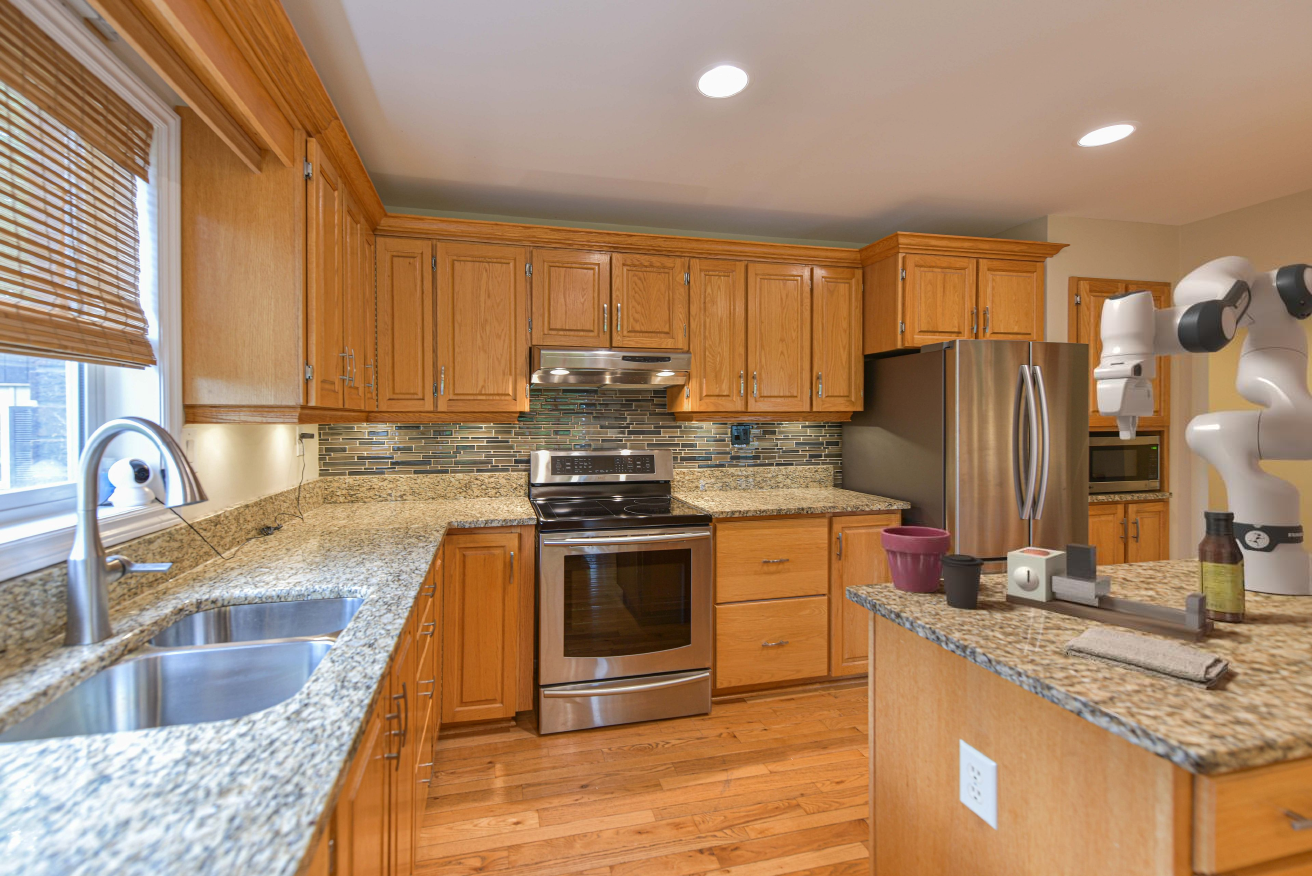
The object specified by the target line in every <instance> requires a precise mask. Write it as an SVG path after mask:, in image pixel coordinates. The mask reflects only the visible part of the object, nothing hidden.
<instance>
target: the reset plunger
mask: <svg viewBox="0 0 1312 876" xmlns="http://www.w3.org/2000/svg"><path fill="white" fill-rule="evenodd" d="M1024 553H1027V554H1034V555H1041V556H1048V555H1050V552H1048V551H1044V550H1036V549H1027V550H1024Z"/></svg>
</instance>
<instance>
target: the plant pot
mask: <svg viewBox="0 0 1312 876" xmlns="http://www.w3.org/2000/svg"><path fill="white" fill-rule="evenodd" d="M880 544H881V547H882V548H883V549H885V554H886V558H887V562H888V563H887V564H888V567H889V570H890V576H891V579H892V583H893V587H895V589H897V590H900V591H903V592H909V593H917V594H920V593H921V594H923V593H924V594H926V593H934V592H936V591H938V589H939V584H940V580H941V576H942V574H943V567H942V562H940V560H939V559H941V557H943V556H947V555H946V554H947V553H948V552H949V551H950V550H951V533H950V532H949V531H947V530H944V529H939V528H934V527H926V526H913V525H910V526H908V525H907V526H906V525H905V526H903V525H901V526H900V525H899V526H889V527H885V528H882V529H881V531H880Z"/></svg>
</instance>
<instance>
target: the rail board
mask: <svg viewBox="0 0 1312 876" xmlns="http://www.w3.org/2000/svg"><path fill="white" fill-rule="evenodd" d="M1005 602H1007V603H1010V604H1015V605H1019V606H1025V607H1028V608H1029V607H1030V608H1034V609H1040V610H1044V611H1049V612H1052V613H1057V614H1062V615H1067V616H1070V615H1071V616H1072V617H1076V618H1081V619H1084V618H1085V620H1089V621H1093V622H1098V623H1104V624H1109V625H1112V624H1113V626H1118V627H1123V628H1126V627H1127V628H1128V629H1131V628H1132V630H1136V631H1141V632H1145V633H1149V632H1150V634H1155V635H1160V636H1163V635H1164V636H1163V637H1168V636H1169V638H1174V639H1177V638H1178V639H1179V640H1182V641H1188V642H1192V643H1197V642H1199V641H1200V640H1202V639H1203V638H1204V637H1206V636H1207V635H1208V634H1210V633H1211V632H1212V631H1213V630H1214V629H1215V620H1214V619H1210V618H1206V594H1200V593H1199V592H1192V593H1191V594H1189V595H1187V596H1185V609H1181V608H1175V607H1171V606H1165V605H1159V604H1155V603H1154V604H1153V603H1148V602H1143V601H1137V600H1134V599H1133V600H1132V599H1128V598H1127V599H1126V598H1121V597H1117V596H1116V597H1115V596H1110V595H1107V596H1106V595H1103V596H1101V597H1100V606H1094V605H1089V604H1084V603H1079V602H1074V601H1069V600H1064V599H1059V598H1056V592H1054V598H1053V599H1051V600H1049V601H1046V602H1044V601H1039V600H1034V599H1029V598H1024V597H1020V596H1015V595H1010V594H1007V593H1006V594H1005ZM1127 628H1126V629H1127Z"/></svg>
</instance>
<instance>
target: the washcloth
mask: <svg viewBox="0 0 1312 876" xmlns="http://www.w3.org/2000/svg"><path fill="white" fill-rule="evenodd" d="M1063 651H1064V653H1065V654H1067V653H1068V654H1067V655H1069V654H1072V655H1071V656H1073V655H1076V656H1075V657H1077V656H1080V657H1084V658H1083V659H1085V658H1088V659H1091V660H1090V661H1092V660H1095V661H1094V662H1096V661H1099V662H1098V663H1100V662H1102V663H1101V664H1103V663H1107V664H1106V665H1108V664H1111V665H1114V666H1113V667H1116V666H1118V667H1117V668H1119V667H1122V668H1125V669H1124V670H1128V669H1130V670H1129V671H1133V672H1135V671H1136V673H1139V672H1140V674H1144V675H1148V676H1149V677H1151V676H1152V677H1155V678H1159V679H1162V680H1166V681H1170V682H1174V683H1178V684H1181V685H1184V686H1185V685H1186V686H1189V687H1193V688H1196V689H1200V690H1205V691H1206V690H1207V688H1210V687H1213V686H1215V685H1217V684H1218V682H1219V680H1220V679H1221V678H1222V677H1223V676H1224V675H1225V674H1226V673H1227V672H1228V671H1229V665H1230V664H1229V663H1230V662H1229V661H1228V660H1225V659H1221V658H1220V654H1217V653H1212V652H1207V651H1205V652H1204V651H1201V650H1198V649H1194V648H1193V647H1188V646H1186V645H1183V644H1182V643H1181V642H1179V641H1174V640H1164V639H1163V640H1162V639H1158V638H1157V639H1156V638H1152V637H1148V636H1144V635H1140V634H1136V633H1131V632H1126V631H1119V630H1114V629H1109V628H1105V627H1088V629H1086V630H1084V631H1083V632H1082V634H1081V635H1080V636H1077V637H1074V638H1071V639H1070V640H1068V641H1067V642H1066V643H1064V646H1063ZM1080 657H1079V658H1080ZM1088 659H1087V660H1088ZM1111 665H1110V666H1111ZM1122 668H1121V669H1122Z"/></svg>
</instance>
